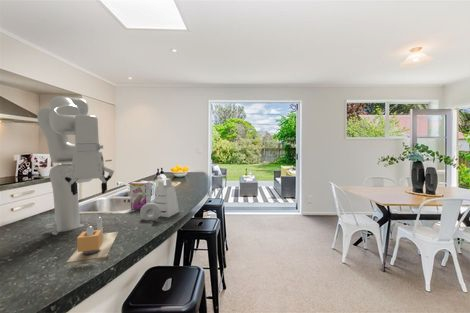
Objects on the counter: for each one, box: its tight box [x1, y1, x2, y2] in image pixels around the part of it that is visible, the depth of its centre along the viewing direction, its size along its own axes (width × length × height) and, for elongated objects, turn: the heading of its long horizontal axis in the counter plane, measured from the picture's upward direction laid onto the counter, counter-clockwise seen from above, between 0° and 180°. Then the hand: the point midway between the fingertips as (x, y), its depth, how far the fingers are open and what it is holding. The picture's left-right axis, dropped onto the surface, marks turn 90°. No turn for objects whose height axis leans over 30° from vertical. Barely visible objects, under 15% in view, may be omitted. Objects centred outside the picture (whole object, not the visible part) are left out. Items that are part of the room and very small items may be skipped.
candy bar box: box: [129, 181, 151, 210], centre depth 153 cm, size 11×5×16 cm, turn 77°
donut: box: [139, 202, 160, 222], centre depth 126 cm, size 10×4×10 cm, turn 106°
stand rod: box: [96, 216, 104, 237], centre depth 102 cm, size 2×2×9 cm
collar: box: [76, 229, 103, 252], centre depth 88 cm, size 6×6×5 cm
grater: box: [152, 177, 180, 218], centre depth 140 cm, size 10×10×20 cm
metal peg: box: [83, 225, 99, 256], centre depth 88 cm, size 5×5×10 cm
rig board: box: [66, 231, 119, 267], centre depth 95 cm, size 12×25×2 cm, turn 17°
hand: (89, 193), depth 93 cm, fingers open, 9 cm apart
